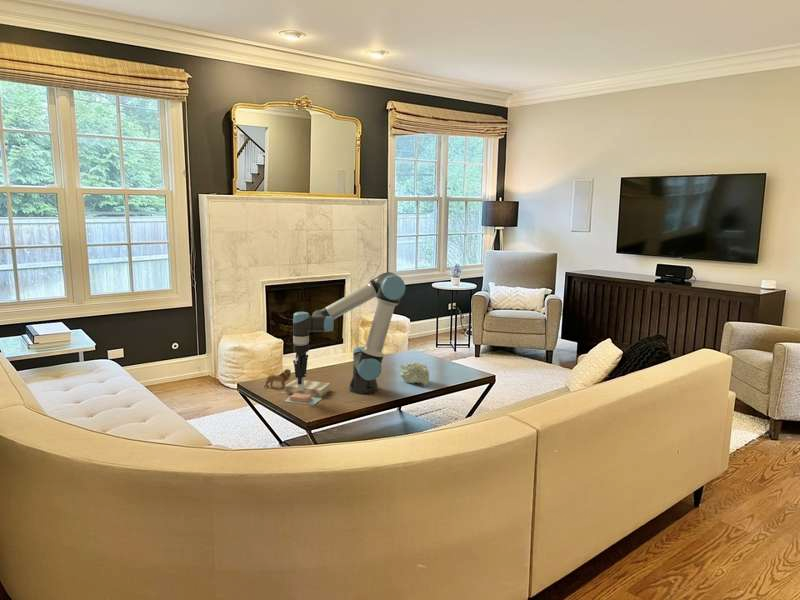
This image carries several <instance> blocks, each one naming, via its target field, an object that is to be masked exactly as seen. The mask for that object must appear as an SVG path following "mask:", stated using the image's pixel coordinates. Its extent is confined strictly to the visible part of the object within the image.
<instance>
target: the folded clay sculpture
mask: <svg viewBox="0 0 800 600" xmlns="http://www.w3.org/2000/svg"><path fill="white" fill-rule="evenodd" d="M399 368H400V370H401V371H400V373H399V374H400V377H401V378H402V380H403V383H406V384H408V383H409V384H415V383H418V384H420V383H421V384H422V386H423V387H426V386H427V385H428V382H429V381H430V372H429V370H428V367H427V365H426V363H424V362H422V363H420V362H417V361H413V362H407V365H402V364H401V365H399Z"/></svg>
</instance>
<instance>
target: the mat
mask: <svg viewBox="0 0 800 600" xmlns="http://www.w3.org/2000/svg"><path fill="white" fill-rule="evenodd" d="M322 398H323V397H322ZM322 398H320V397H312V399H311V400H309V401H308V402H307V403H305V402H297V401H290V396H288V398H286V399H284V400H283V403H291V404H292V403H293V404H298V405H299V404H300V405H308V406H315V405H316V404H318V403H319V402H320V401H322V400H323V399H322ZM317 402H318V403H317Z"/></svg>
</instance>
